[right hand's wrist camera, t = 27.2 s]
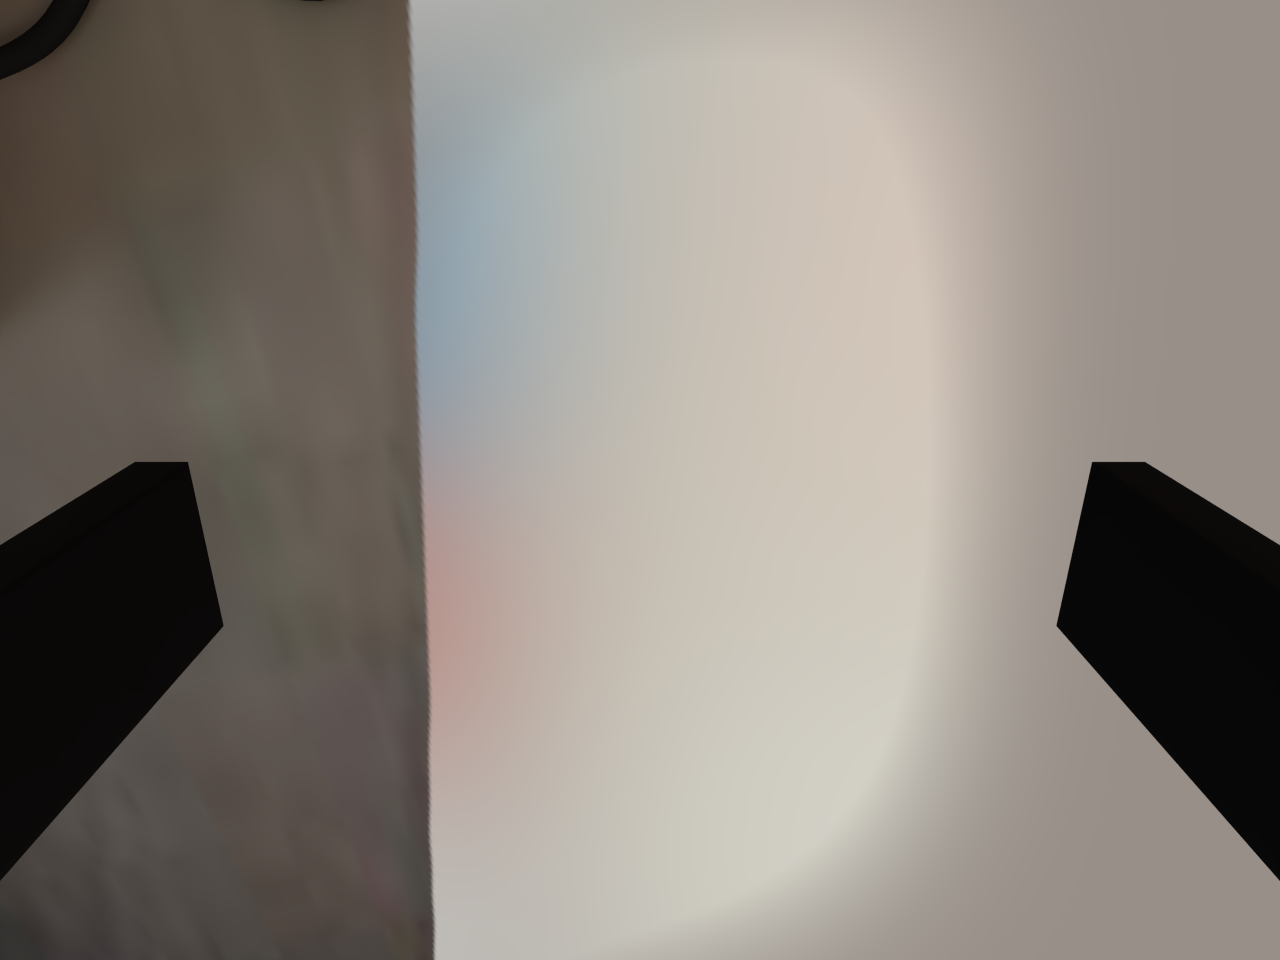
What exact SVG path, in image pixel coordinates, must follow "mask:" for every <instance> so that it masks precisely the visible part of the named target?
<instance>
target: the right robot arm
mask: <svg viewBox="0 0 1280 960" xmlns="http://www.w3.org/2000/svg"><path fill="white" fill-rule="evenodd" d="M89 1H90V0H53V1H52V3H51V4H50V6H49V8H48V9H47V11H46V12H45V13H44V15H43V16H42V17H41V18H40V19H39V21H38V22H37V23H36V24H34V25H33V26H32V27H31V28H30V29H29V30H28V31H26V32H25V33H24V34H22V35H21V36H19V37H18V38H16V39H14V40H13V41H11V42H9V43H7V44H5V45H3V46H1V47H0V80H1V79H3V78H6V77H8V76H10V75H13V74H15V73H17V72H20V71H22V70H24V69H26V68H28V67H30V66H32V65H34V64H35V63H37V62H39V61H40V60H42V59H43V58H45V57H46V56H48V55H49V54H50V53H52V52H53V51H54V50H55V49H56V48H57V47H58V46H59V45H61V44H62V43H63V42H64V40H65V39H66V38H67V37H68V36H69V34H70V33H71V32H72V31H73V29H74V28H75V26H76V25H77V23H78V22H79V20H80V18H81V16H82V15H83V13H84V11H85V9H86V7H87V5H88V3H89ZM305 1H322V0H305ZM222 627H223V621H222V617H221V612H220V607H219V603H218V598H217V594H216V589H215V584H214V580H213V575H212V571H211V566H210V561H209V557H208V552H207V548H206V543H205V539H204V534H203V529H202V525H201V520H200V516H199V511H198V506H197V502H196V497H195V493H194V488H193V484H192V479H191V474H190V470H189V465H188V462H134V463H133V464H131V465H129V466H128V467H126V468H124V469H123V470H121V471H120V472H118V473H116V474H115V475H113V476H112V477H110V478H108V479H107V480H105V481H103V482H102V483H100V484H99V485H97V486H95V487H94V488H92V489H90V490H89V491H87V492H86V493H84V494H82V495H81V496H79V497H77V498H76V499H74V500H73V501H71V502H69V503H68V504H66V505H65V506H63V507H61V508H60V509H58V510H56V511H55V512H53V513H52V514H50V515H48V516H47V517H45V518H43V519H42V520H40V521H39V522H37V523H35V524H34V525H32V526H30V527H29V528H27V529H26V530H24V531H22V532H21V533H19V534H17V535H16V536H14V537H13V538H11V539H9V540H8V541H6V542H5V543H3V544H1V545H0V880H1V879H2V878H3V877H4V876H5V875H6V874H7V872H8V871H9V870H10V869H11V868H12V867H13V866H14V864H15V863H16V862H17V861H18V860H19V859H20V858H21V856H22V855H23V854H24V853H25V852H26V851H27V850H28V848H29V847H30V846H31V845H32V844H33V843H34V842H35V840H36V839H37V838H38V837H39V836H40V835H41V834H42V832H43V831H44V830H45V829H46V828H47V827H48V826H49V824H50V823H51V822H52V821H53V820H54V819H55V818H56V816H57V815H58V814H59V813H60V812H61V811H62V810H63V809H64V807H65V806H66V805H67V804H68V803H69V802H70V801H71V799H72V798H73V797H74V796H75V795H76V794H77V793H78V791H79V790H80V789H81V788H82V787H83V786H84V785H85V783H86V782H87V781H88V780H89V779H90V778H91V777H92V775H93V774H94V773H95V772H96V771H97V770H98V769H99V767H100V766H101V765H102V764H103V763H104V762H105V761H106V759H107V758H108V757H109V756H110V755H111V754H112V753H113V751H114V750H115V749H116V748H117V747H118V746H119V745H120V743H121V742H122V741H123V740H124V739H125V738H126V737H127V735H128V734H129V733H130V732H131V731H132V730H133V729H134V727H135V726H136V725H137V724H138V723H139V722H140V721H141V719H142V718H143V717H144V716H145V715H146V714H147V713H148V711H149V710H150V709H151V708H152V707H153V706H154V705H155V703H156V702H157V701H158V700H159V699H160V698H161V697H162V696H163V694H164V693H165V692H166V691H167V690H168V689H169V688H170V686H171V685H172V684H173V683H174V682H175V681H176V680H177V678H178V677H179V676H180V675H181V674H182V673H183V672H184V670H185V669H186V668H187V667H188V666H189V665H190V664H191V662H192V661H193V660H194V659H195V658H196V657H197V656H198V654H199V653H200V652H201V651H202V650H203V649H204V648H205V646H206V645H207V644H208V643H209V642H210V641H211V640H212V638H213V637H214V636H215V635H216V634H217V633H218V632H219V630H220V629H221V628H222ZM1057 627H1058V628H1059V629H1060V630H1061V632H1062V633H1063V634H1064V635H1065V636H1066V637H1067V638H1068V640H1069V641H1070V642H1071V643H1072V644H1073V645H1074V646H1075V648H1076V649H1077V650H1078V651H1079V652H1080V653H1081V654H1082V656H1083V657H1084V658H1085V659H1086V660H1087V661H1088V662H1089V663H1090V665H1091V666H1092V667H1093V668H1094V669H1095V670H1096V671H1097V673H1098V674H1099V675H1100V676H1101V677H1102V678H1103V680H1104V681H1105V682H1106V683H1107V684H1108V685H1109V686H1110V688H1111V689H1112V690H1113V691H1114V692H1115V693H1116V694H1117V696H1118V697H1119V698H1120V699H1121V700H1122V701H1123V702H1124V703H1125V705H1126V706H1127V707H1128V708H1129V709H1130V710H1131V711H1132V713H1133V714H1134V715H1135V716H1136V717H1137V718H1138V719H1139V721H1140V722H1141V723H1142V724H1143V725H1144V726H1145V727H1146V729H1147V730H1148V731H1149V732H1150V733H1151V734H1152V735H1153V737H1154V738H1155V739H1156V740H1157V741H1158V742H1159V743H1160V745H1161V746H1162V747H1163V748H1164V749H1165V750H1166V751H1167V753H1168V754H1169V755H1170V756H1171V757H1172V758H1173V759H1174V761H1175V762H1176V763H1177V764H1178V765H1179V766H1180V767H1181V769H1182V770H1183V771H1184V772H1185V773H1186V774H1187V775H1188V777H1189V778H1190V779H1191V780H1192V781H1193V782H1194V783H1195V785H1196V786H1197V787H1198V788H1199V789H1200V790H1201V791H1202V793H1203V794H1204V795H1205V796H1206V797H1207V798H1208V799H1209V800H1210V802H1211V803H1212V804H1213V805H1214V806H1215V807H1216V808H1217V810H1218V811H1219V812H1220V813H1221V814H1222V815H1223V816H1224V818H1225V819H1226V820H1227V821H1228V822H1229V823H1230V824H1231V826H1232V827H1233V828H1234V829H1235V830H1236V831H1237V832H1238V834H1239V835H1240V836H1241V837H1242V838H1243V839H1244V840H1245V842H1246V843H1247V844H1248V845H1249V846H1250V847H1251V848H1252V850H1253V851H1254V852H1255V853H1256V854H1257V855H1258V856H1259V858H1260V859H1261V860H1262V861H1263V862H1264V863H1265V864H1266V866H1267V867H1268V868H1269V869H1270V870H1271V871H1272V872H1273V874H1274V875H1275V876H1276V877H1277V878H1278V879H1279V880H1280V545H1279V544H1277V543H1275V542H1274V541H1272V540H1271V539H1269V538H1267V537H1266V536H1264V535H1262V534H1261V533H1259V532H1258V531H1256V530H1254V529H1253V528H1251V527H1250V526H1248V525H1246V524H1245V523H1243V522H1241V521H1240V520H1238V519H1237V518H1235V517H1233V516H1232V515H1230V514H1228V513H1227V512H1225V511H1224V510H1222V509H1220V508H1219V507H1217V506H1215V505H1214V504H1212V503H1211V502H1209V501H1207V500H1206V499H1204V498H1203V497H1201V496H1199V495H1198V494H1196V493H1194V492H1193V491H1191V490H1190V489H1188V488H1186V487H1185V486H1183V485H1181V484H1180V483H1178V482H1176V481H1175V480H1173V479H1172V478H1170V477H1168V476H1167V475H1165V474H1164V473H1162V472H1160V471H1159V470H1157V469H1155V468H1154V467H1152V466H1151V465H1149V464H1147V463H1146V462H1092V465H1091V470H1090V474H1089V479H1088V484H1087V488H1086V493H1085V497H1084V502H1083V506H1082V511H1081V516H1080V520H1079V525H1078V529H1077V534H1076V539H1075V543H1074V548H1073V552H1072V557H1071V561H1070V566H1069V571H1068V575H1067V580H1066V584H1065V589H1064V594H1063V598H1062V603H1061V608H1060V612H1059V617H1058V621H1057Z"/></svg>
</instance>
